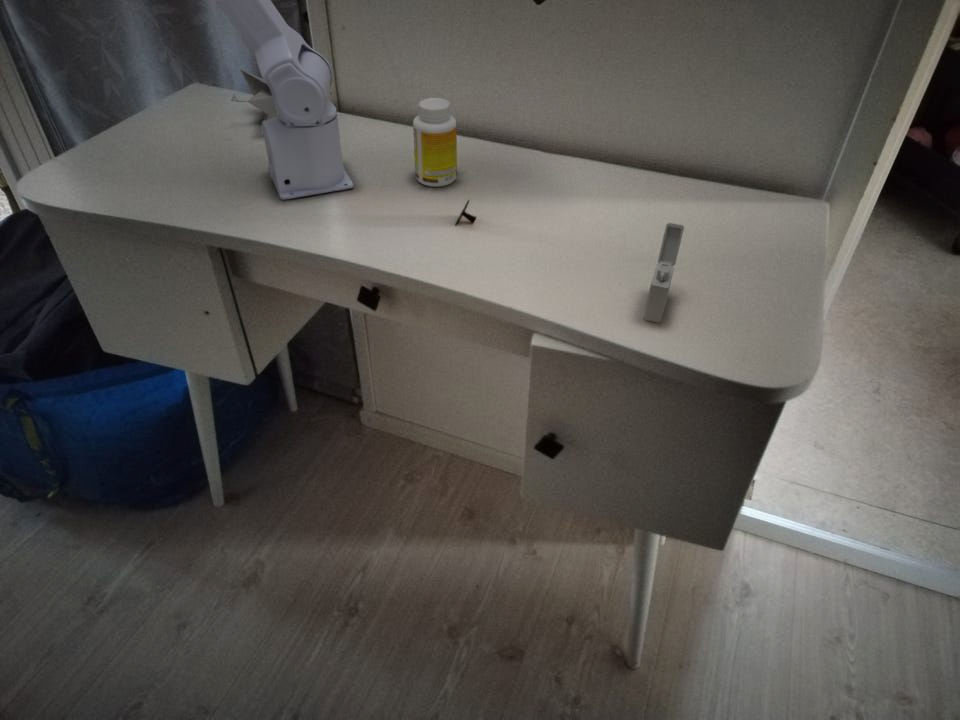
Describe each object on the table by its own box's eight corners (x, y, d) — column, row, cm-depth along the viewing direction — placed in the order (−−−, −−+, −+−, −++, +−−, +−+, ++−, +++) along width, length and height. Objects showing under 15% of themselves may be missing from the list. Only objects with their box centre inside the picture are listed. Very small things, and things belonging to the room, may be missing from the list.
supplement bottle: (465, 180, 95) (465, 104, 88) (432, 192, 92) (429, 115, 85) (440, 166, 98) (438, 91, 91) (407, 177, 95) (403, 101, 88)
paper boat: (308, 123, 105) (247, 119, 100) (295, 150, 110) (236, 148, 105) (285, 58, 108) (225, 51, 103) (273, 87, 113) (215, 82, 108)
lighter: (660, 323, 71) (675, 255, 66) (643, 319, 72) (657, 252, 67) (670, 285, 76) (685, 220, 71) (654, 282, 77) (668, 217, 72)
